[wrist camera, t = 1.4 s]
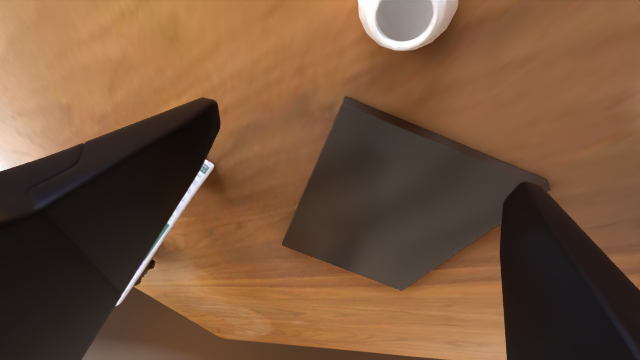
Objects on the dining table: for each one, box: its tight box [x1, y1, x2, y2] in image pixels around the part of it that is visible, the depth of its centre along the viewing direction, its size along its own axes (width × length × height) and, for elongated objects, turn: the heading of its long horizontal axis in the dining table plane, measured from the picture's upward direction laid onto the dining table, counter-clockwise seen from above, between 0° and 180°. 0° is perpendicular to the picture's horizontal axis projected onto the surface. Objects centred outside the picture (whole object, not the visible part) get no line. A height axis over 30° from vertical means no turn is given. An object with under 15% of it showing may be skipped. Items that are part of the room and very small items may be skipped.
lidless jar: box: [358, 0, 458, 51], centre depth 16 cm, size 5×3×5 cm
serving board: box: [282, 96, 550, 291], centre depth 30 cm, size 16×22×1 cm
